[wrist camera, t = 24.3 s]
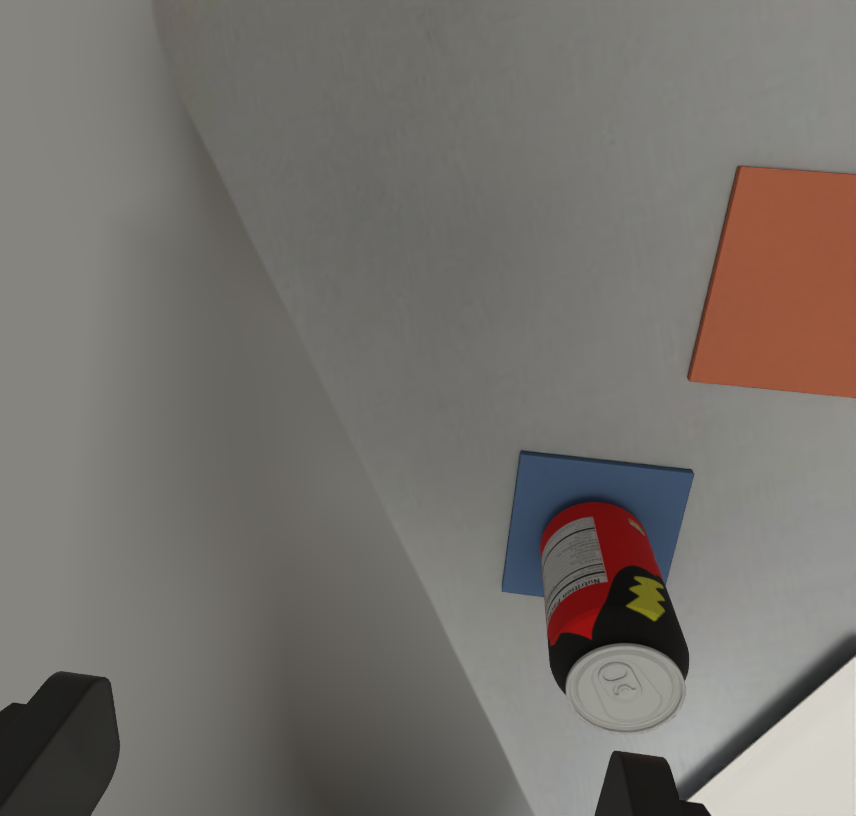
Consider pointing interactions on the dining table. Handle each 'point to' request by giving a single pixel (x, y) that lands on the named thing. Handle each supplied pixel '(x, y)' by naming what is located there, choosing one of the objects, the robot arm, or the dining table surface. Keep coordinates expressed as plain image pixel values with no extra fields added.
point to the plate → (796, 760)
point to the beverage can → (611, 621)
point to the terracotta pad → (783, 286)
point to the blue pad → (589, 482)
